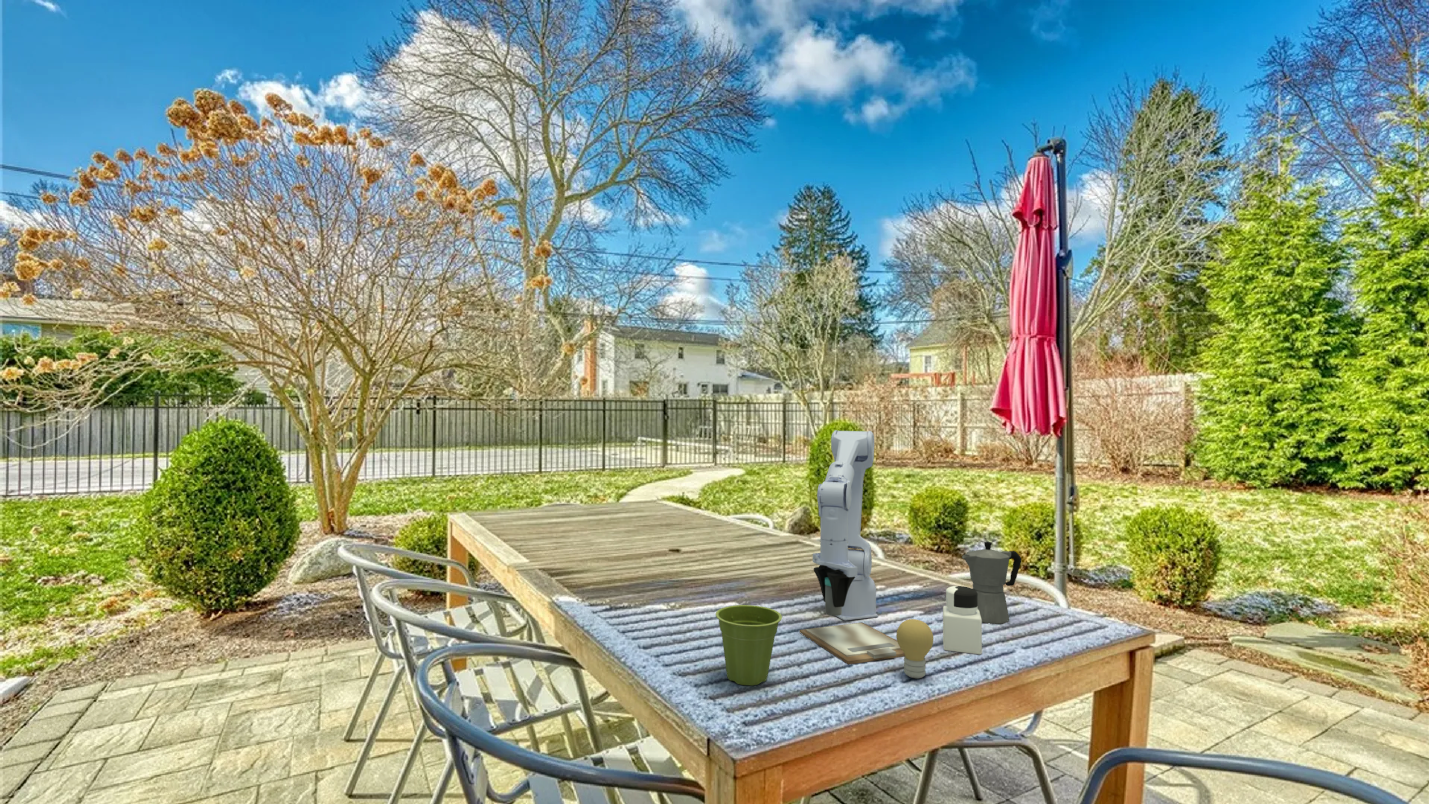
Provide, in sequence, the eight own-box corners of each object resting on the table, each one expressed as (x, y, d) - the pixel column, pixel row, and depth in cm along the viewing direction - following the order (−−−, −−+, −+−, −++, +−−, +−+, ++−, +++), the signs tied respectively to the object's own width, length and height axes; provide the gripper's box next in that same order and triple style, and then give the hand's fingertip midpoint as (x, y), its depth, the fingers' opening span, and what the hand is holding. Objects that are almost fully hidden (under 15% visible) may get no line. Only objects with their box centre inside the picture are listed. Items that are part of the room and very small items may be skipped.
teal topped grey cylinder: (836, 610, 134) (836, 576, 134) (845, 614, 130) (845, 580, 130) (821, 611, 132) (821, 577, 133) (830, 616, 129) (830, 581, 129)
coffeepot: (975, 626, 142) (975, 546, 142) (951, 613, 151) (951, 538, 151) (1034, 622, 145) (1034, 544, 145) (1007, 610, 154) (1007, 537, 154)
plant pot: (732, 697, 103) (732, 628, 104) (704, 670, 114) (705, 608, 114) (793, 686, 108) (794, 620, 108) (761, 661, 119) (762, 602, 119)
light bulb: (928, 686, 108) (928, 628, 109) (892, 677, 112) (892, 621, 112) (937, 673, 114) (936, 618, 114) (901, 666, 117) (901, 612, 118)
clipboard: (862, 625, 141) (862, 619, 141) (919, 655, 123) (919, 648, 123) (799, 632, 136) (799, 626, 136) (849, 665, 117) (849, 658, 117)
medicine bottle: (979, 643, 130) (979, 585, 131) (981, 655, 124) (981, 594, 124) (942, 639, 133) (942, 582, 133) (943, 650, 126) (943, 590, 126)
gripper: (800, 534, 137) (800, 596, 137) (836, 546, 124) (835, 615, 123) (828, 532, 140) (828, 593, 139) (866, 544, 126) (866, 612, 126)
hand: (833, 603), depth 131 cm, fingers closed on teal topped grey cylinder, 3 cm apart
